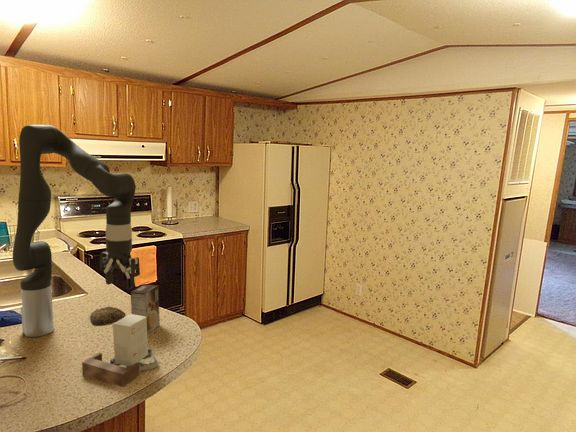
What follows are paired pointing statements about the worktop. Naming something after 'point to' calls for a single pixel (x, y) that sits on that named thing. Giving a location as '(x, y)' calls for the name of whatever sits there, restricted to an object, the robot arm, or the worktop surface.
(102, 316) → the bread roll
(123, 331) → the small box
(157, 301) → the coffee box
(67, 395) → the worktop surface
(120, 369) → the walnut arch
